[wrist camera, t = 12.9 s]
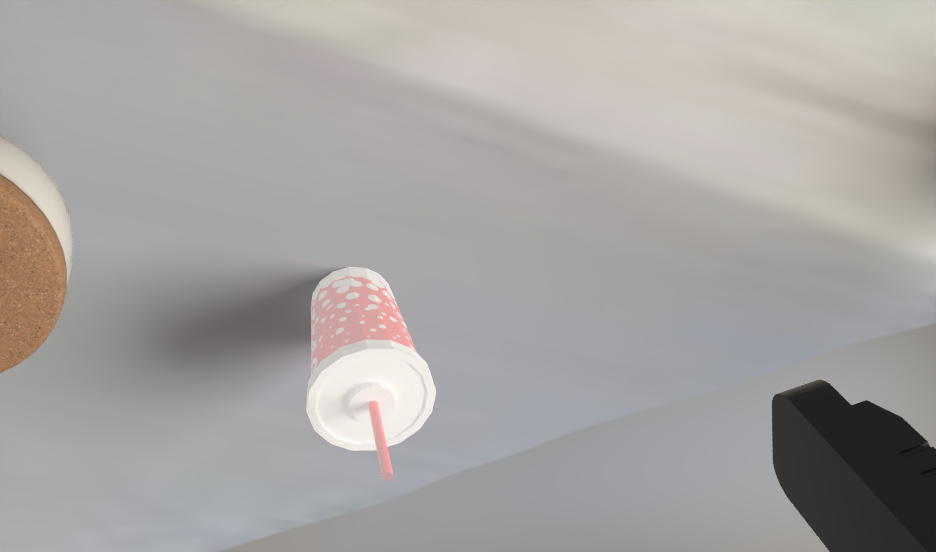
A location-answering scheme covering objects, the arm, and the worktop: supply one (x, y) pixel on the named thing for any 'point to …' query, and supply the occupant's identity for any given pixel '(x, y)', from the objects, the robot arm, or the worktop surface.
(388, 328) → the beverage cup
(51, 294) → the lidded jar
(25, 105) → the worktop surface
